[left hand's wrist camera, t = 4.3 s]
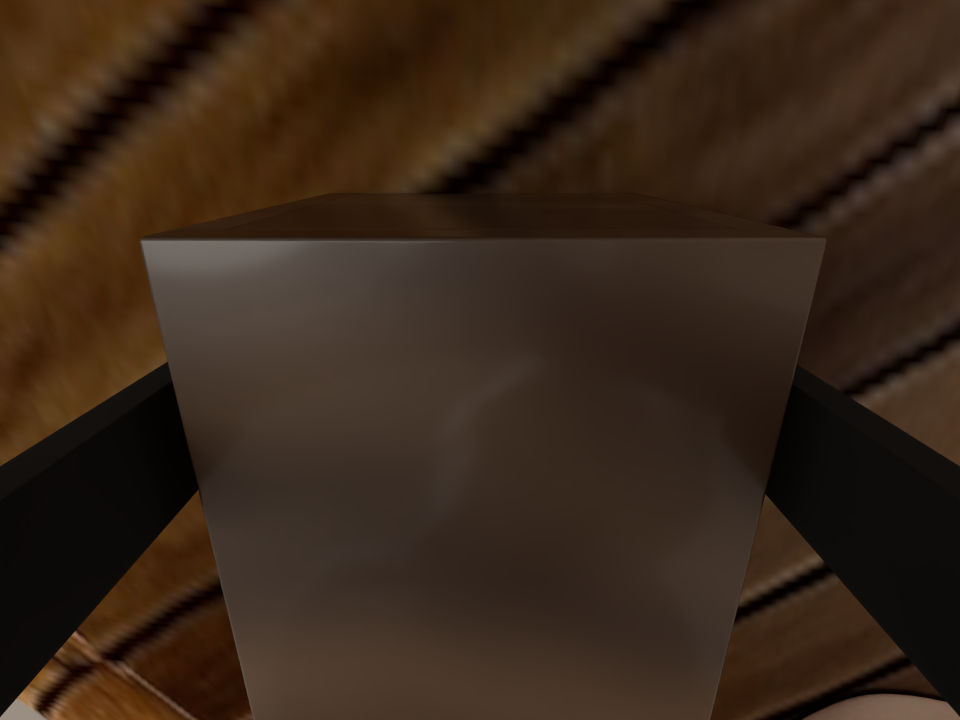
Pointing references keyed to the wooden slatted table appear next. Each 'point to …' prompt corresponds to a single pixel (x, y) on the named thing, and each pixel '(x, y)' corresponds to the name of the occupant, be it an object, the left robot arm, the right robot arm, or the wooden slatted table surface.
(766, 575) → the wooden slatted table surface
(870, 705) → the anatomical model
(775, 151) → the wooden slatted table surface
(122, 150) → the wooden slatted table surface
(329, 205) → the cabinet
